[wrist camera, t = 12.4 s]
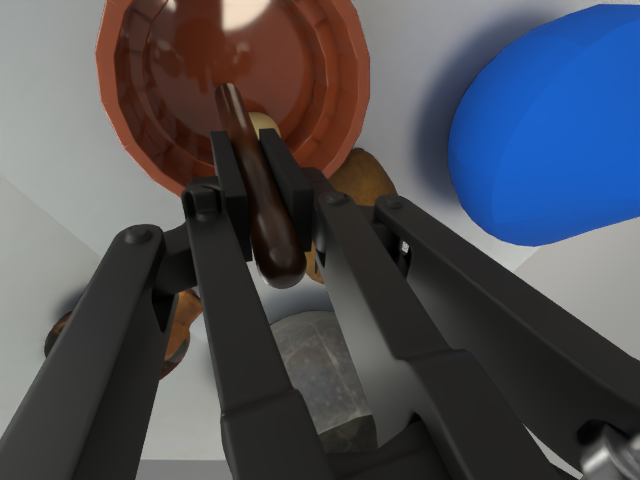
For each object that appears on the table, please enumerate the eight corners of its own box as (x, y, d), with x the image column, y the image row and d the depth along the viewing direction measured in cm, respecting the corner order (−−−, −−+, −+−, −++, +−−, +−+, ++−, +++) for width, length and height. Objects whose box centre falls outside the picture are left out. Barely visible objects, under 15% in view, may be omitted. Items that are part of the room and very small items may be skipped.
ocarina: (9, 333, 30) (-35, 416, 24) (153, 235, 30) (148, 291, 24) (101, 379, 36) (86, 456, 29) (222, 297, 36) (232, 355, 29)
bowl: (285, 404, 51) (315, 526, 39) (172, 358, 38) (169, 518, 27) (395, 325, 48) (462, 431, 37) (314, 246, 35) (379, 371, 24)
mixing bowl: (65, 77, 21) (30, 104, 16) (218, -136, 18) (233, -183, 13) (246, 205, 30) (259, 248, 25) (369, 76, 27) (411, 96, 22)
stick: (208, 87, 22) (251, 281, 10) (229, 74, 21) (299, 254, 10) (223, 109, 23) (278, 306, 11) (243, 96, 23) (321, 282, 11)
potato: (402, 169, 33) (458, 215, 27) (336, 261, 37) (369, 321, 31) (335, 128, 29) (382, 171, 22) (268, 239, 33) (290, 303, 26)
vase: (498, 214, 41) (671, 338, 27) (380, 175, 33) (542, 326, 18) (615, 57, 34) (951, 111, 19) (501, -50, 25) (961, -104, 10)
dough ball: (240, 104, 25) (213, 142, 25) (261, 96, 22) (230, 139, 22) (275, 137, 27) (250, 173, 27) (298, 134, 24) (271, 175, 24)
